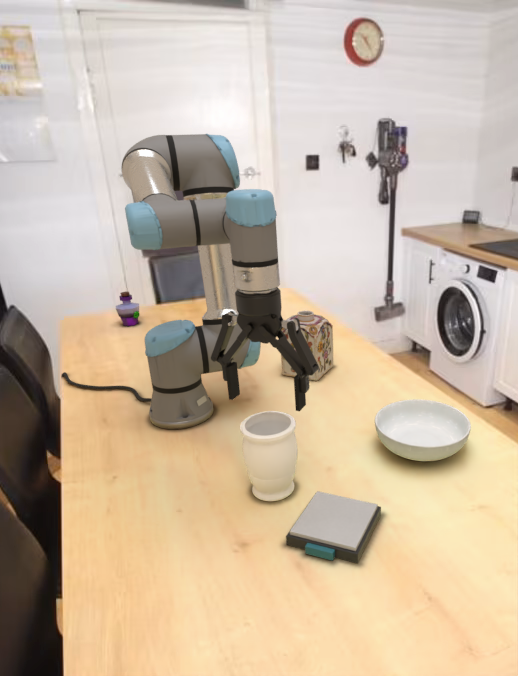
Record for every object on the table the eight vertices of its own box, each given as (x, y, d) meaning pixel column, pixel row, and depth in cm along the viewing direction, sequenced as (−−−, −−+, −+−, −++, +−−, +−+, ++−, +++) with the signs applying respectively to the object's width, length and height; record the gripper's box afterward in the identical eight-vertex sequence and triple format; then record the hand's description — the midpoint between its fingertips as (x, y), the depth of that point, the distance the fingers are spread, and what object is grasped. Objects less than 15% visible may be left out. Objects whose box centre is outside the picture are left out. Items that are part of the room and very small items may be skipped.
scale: (283, 548, 92) (282, 536, 91) (316, 500, 104) (316, 488, 103) (355, 567, 88) (355, 554, 87) (380, 515, 100) (381, 503, 99)
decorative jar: (281, 375, 156) (277, 316, 149) (299, 360, 166) (296, 304, 158) (318, 382, 152) (316, 321, 145) (335, 366, 162) (333, 308, 154)
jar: (290, 509, 102) (285, 440, 95) (238, 502, 104) (230, 435, 97) (305, 476, 111) (302, 412, 105) (258, 471, 113) (252, 407, 106)
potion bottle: (138, 328, 194) (132, 295, 189) (114, 328, 194) (107, 295, 189) (146, 320, 202) (141, 288, 197) (123, 320, 202) (117, 288, 197)
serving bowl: (407, 484, 108) (408, 456, 105) (358, 437, 125) (358, 411, 122) (488, 458, 117) (491, 430, 114) (432, 416, 134) (433, 391, 131)
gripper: (180, 287, 90) (197, 400, 99) (317, 301, 83) (321, 422, 92) (206, 277, 97) (219, 384, 106) (335, 289, 89) (337, 403, 98)
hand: (267, 402), depth 99 cm, fingers open, 13 cm apart
